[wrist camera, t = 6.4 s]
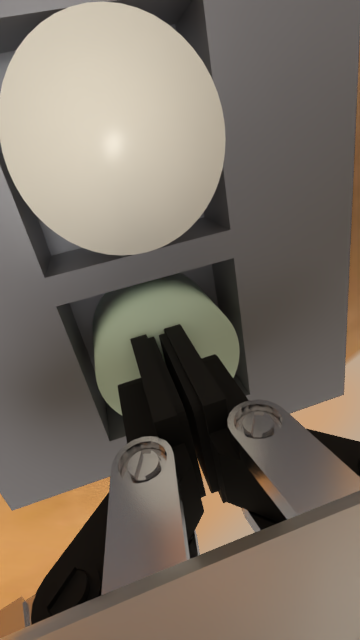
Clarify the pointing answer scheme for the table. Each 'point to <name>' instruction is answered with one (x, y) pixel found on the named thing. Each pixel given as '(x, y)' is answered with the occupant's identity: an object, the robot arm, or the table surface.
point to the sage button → (156, 328)
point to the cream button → (111, 128)
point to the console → (195, 238)
